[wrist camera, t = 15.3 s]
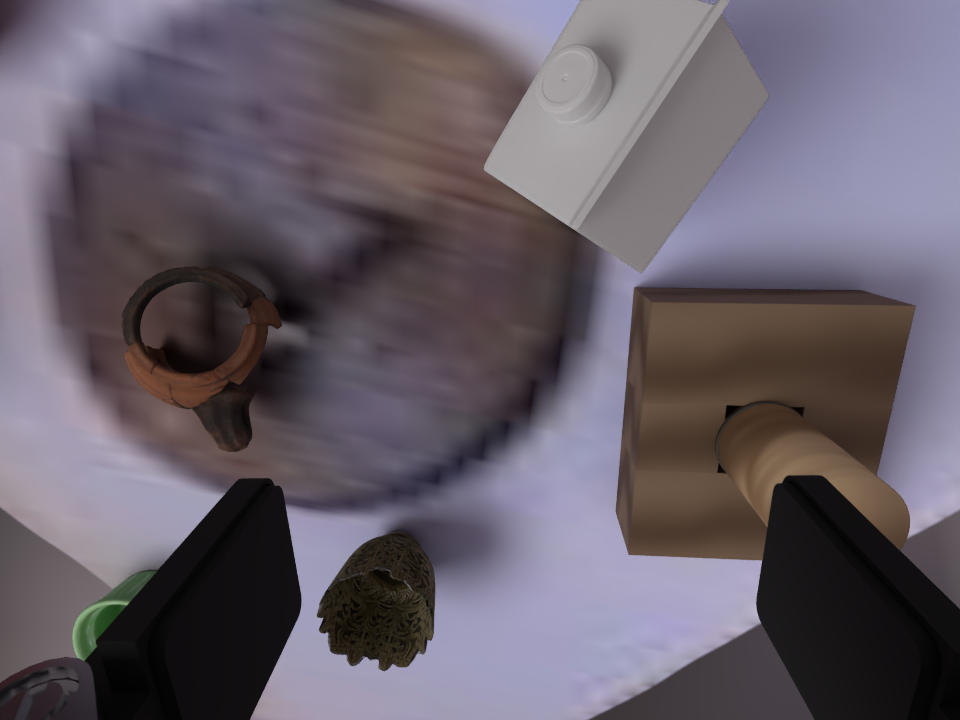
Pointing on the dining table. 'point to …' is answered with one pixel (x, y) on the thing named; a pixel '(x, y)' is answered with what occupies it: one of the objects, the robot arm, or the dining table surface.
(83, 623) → the ramekin
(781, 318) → the walnut block
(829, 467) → the oak peg
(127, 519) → the dining table surface
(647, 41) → the milk carton
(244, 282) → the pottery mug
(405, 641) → the dark rounded textured piece
